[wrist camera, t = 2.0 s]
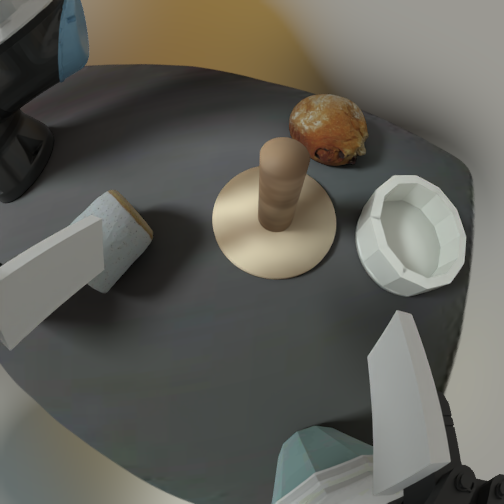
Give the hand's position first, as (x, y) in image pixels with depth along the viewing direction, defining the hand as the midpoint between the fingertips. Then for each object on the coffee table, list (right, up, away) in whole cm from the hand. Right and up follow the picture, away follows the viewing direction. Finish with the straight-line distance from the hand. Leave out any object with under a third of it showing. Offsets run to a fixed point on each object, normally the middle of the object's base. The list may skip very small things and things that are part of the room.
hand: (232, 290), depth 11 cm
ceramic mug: (-15, +2, +18) cm, 23 cm away
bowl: (+18, +2, +17) cm, 25 cm away
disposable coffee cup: (+7, -19, +11) cm, 23 cm away
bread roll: (+11, +16, +22) cm, 29 cm away
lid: (+3, +5, +18) cm, 19 cm away
